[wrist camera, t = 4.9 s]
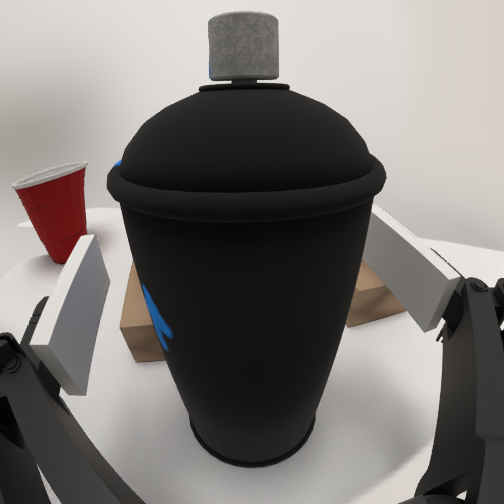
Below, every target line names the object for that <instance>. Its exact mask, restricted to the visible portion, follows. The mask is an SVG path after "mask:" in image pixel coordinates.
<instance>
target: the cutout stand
mask: <svg viewBox="0 0 504 504" xmlns="http://www.w3.org/2000/svg"><path fill="white" fill-rule="evenodd" d="M404 311H406V309H405V308H404V306H403V305H402V304H401V303H400V302H399V300H398V299H397V298H396V297H395V296H394V294H393V293H392V292H391V291H390V290H389V289H388V287H387V286H386V285H385V284H384V283H383V282H382V280H381V279H380V278H379V277H378V276H377V275H376V273H375V272H374V271H373V270H372V269H371V268H370V267H369V266H368V264H367V263H366V262H365V261H364V260H363V259H362V261H361V266H360V270H359V274H358V278H357V283H356V287H355V291H354V294H353V298H352V302H351V306H350V309H349V313H348V317H347V320H346V324H347V326H348V327H352V326H356V325H359V324H363V323H367V322H370V321H374V320H377V319H381V318H384V317H388V316H391V315H394V314H397V313H401V312H404ZM120 330H121V332H122V334H123V336H124V338H125V341H126V343H127V345H128V347H129V349H130V351H131V353H132V355H133V357H134V359H135V361H136V362H147V361H159V360H166V359H165V356H164V354H163V351H162V348H161V346H160V343H159V340H158V337H157V335H156V332H155V329H154V326H153V323H152V320H151V317H150V314H149V311H148V308H147V305H146V302H145V299H144V295H143V292H142V289H141V285H140V282H139V279H138V275H137V272H136V268H135V264H134V261H133V262H132V266H131V271H130V275H129V280H128V285H127V290H126V295H125V300H124V305H123V310H122V316H121V322H120Z"/></svg>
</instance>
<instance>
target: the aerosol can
mask: <svg viewBox="0 0 504 504" xmlns="http://www.w3.org/2000/svg"><path fill="white" fill-rule="evenodd" d="M208 34H209V35H208V37H209V51H210V53H209V78H210V79H211V80H212V81H232V83H231V84H215V85H205V86H201V87H199V91H200V92H198V93H196V94H194V95H191V96H189V97H187V98H185V99H182V100H180V101H178V102H176V103H174V104H171V105H170V106H168V107H165V108H164V109H163V110H161V111H160V112H158V113H157V114H156V115H154V116H153V117H151V118H150V119H149V120H147V121H146V122H145V123H144V124H143V125H142V126H141V127H140V129H139V130H138V131H137V133H136V134H135V136H134V137H133V138H132V140H131V141H130V143H129V144H128V145H127V147H126V148H125V151H124V154H123V157H122V160H120V161H119V162H117V163H116V164H115V165H114V167H113V168H112V169H111V170H110V172H109V173H108V176H107V189H108V191H109V193H110V194H111V195H112V197H113V198H114V199H115V200H116V201H118V202H119V203H120V206H121V211H122V215H123V220H124V224H125V229H126V233H127V237H128V241H129V245H130V249H131V253H132V257H133V261H134V264H135V268H136V272H137V275H138V279H139V282H140V285H141V289H142V292H143V295H144V299H145V302H146V305H147V308H148V311H149V314H150V317H151V320H152V323H153V326H154V329H155V332H156V335H157V337H158V340H159V343H160V346H161V348H162V351H163V354H164V356H165V359H166V362H167V364H168V367H169V369H170V372H171V374H172V377H173V379H174V382H175V384H176V386H177V389H178V391H179V393H180V396H181V398H182V400H183V402H184V405H185V407H186V409H187V411H188V414H189V419H190V425H191V429H192V431H193V433H194V436H195V438H196V439H197V440H198V442H199V443H200V445H201V446H202V447H203V448H204V449H205V450H206V451H208V452H209V453H210V454H211V455H213V456H214V457H216V458H218V459H220V460H221V461H223V462H226V463H229V464H232V465H235V466H242V467H264V466H268V465H272V464H275V463H278V462H280V461H282V460H285V459H287V458H289V457H290V456H291V455H293V454H294V453H296V452H297V451H298V450H299V449H300V448H301V447H302V446H303V445H304V444H305V442H306V441H307V440H308V438H309V436H310V434H311V432H312V431H313V427H314V423H315V415H316V410H317V407H318V404H319V402H320V399H321V396H322V394H323V391H324V388H325V386H326V383H327V380H328V377H329V374H330V371H331V368H332V365H333V362H334V359H335V356H336V353H337V350H338V347H339V344H340V340H341V337H342V334H343V331H344V327H345V324H346V320H347V317H348V313H349V309H350V306H351V302H352V298H353V294H354V291H355V287H356V283H357V278H358V274H359V270H360V266H361V261H362V257H363V252H364V247H365V243H366V238H367V233H368V227H369V222H370V216H371V211H372V205H373V199H374V196H375V195H377V194H378V193H379V192H380V191H381V190H382V188H383V186H384V183H385V180H386V172H385V169H384V166H383V165H382V163H381V162H380V161H378V159H377V158H376V157H374V156H373V155H371V154H370V153H369V151H368V148H367V145H366V143H365V141H364V140H363V138H362V137H361V136H360V135H359V133H358V132H357V131H356V129H355V128H354V127H353V126H352V125H351V123H350V122H349V121H348V120H347V119H346V118H345V117H343V116H342V115H340V114H339V113H337V112H336V111H334V110H333V109H331V108H330V107H328V106H326V105H325V104H323V103H321V102H318V101H316V100H314V99H311V98H309V97H306V96H304V95H301V94H299V93H296V92H293V91H291V90H289V89H290V86H289V85H288V84H279V83H257V80H274V79H277V78H278V77H279V42H278V19H276V18H275V17H274V16H272V15H270V14H267V13H262V12H253V11H239V12H238V11H237V12H229V13H223V14H220V15H217V16H214V17H213V18H212V19H210V20H209V22H208Z"/></svg>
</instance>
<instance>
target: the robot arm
mask: <svg viewBox="0 0 504 504" xmlns="http://www.w3.org/2000/svg"><path fill="white" fill-rule="evenodd" d="M362 259H363V260H364V261H365V262H366V263H367V264H368V266H369V267H370V268H371V269H372V270H373V271H374V272H375V273H376V275H377V276H378V277H379V278H380V279H381V280H382V282H383V283H384V284H385V285H386V286H387V287H388V289H389V290H390V291H391V292H392V293H393V294H394V296H395V297H396V298H397V299H398V300H399V302H400V303H401V304H402V305H403V306H404V308H405V309H406V310H407V311H408V313H409V314H410V315H411V316H412V318H413V319H414V320H415V321H416V323H417V324H418V325H419V326H420V328H421V329H422V330H423V331H424V333H425V332H427V331H430V330H432V329H435V328H436V327H437V325H438V324H439V322H440V320H441V318H443V319H444V320H445V321H446V322H445V324H444V326H443V328H442V329H441V331H440V333H439V335H438V337H437V339H436V341H439V339H440V337H442V336H443V340H442V341H441V342H442V343H443V360H442V380H441V392H440V402H439V411H438V419H437V426H436V432H435V438H434V444H433V449H432V455H431V459H430V463H429V466H428V469H427V471H426V472H425V474H424V475H423V477H422V478H421V480H420V482H419V483H418V486H417V488H416V491H415V495H414V498H411V499H409V500H406V501H404V502H402V503H399V504H504V329H503V331H502V330H501V328H500V326H501V324H502V323H503V321H504V278H500V279H498V281H497V283H496V285H495V287H494V288H489V287H488V286H487V285H486V284H485V283H484V282H483V281H481V280H479V279H477V278H473V277H470V278H467V279H465V278H464V277H463V276H462V275H461V274H460V273H459V272H458V271H457V270H456V269H455V268H454V267H453V266H451V265H450V264H449V263H447V261H446V260H445V259H444V258H443V257H442V258H441V256H440V255H439V254H438V253H437V252H436V251H434V250H433V249H431V248H429V247H428V246H427V245H425V244H424V243H423V242H422V241H421V240H420V239H418V238H417V237H416V236H415V235H413V234H412V233H411V232H410V231H409V230H407V229H406V228H405V227H403V226H402V225H401V224H400V223H399V222H397V221H396V220H395V219H393V218H392V217H391V216H390V215H388V214H387V213H386V212H384V211H383V210H382V209H380V208H379V207H378V206H376V205H375V204H373V205H372V211H371V216H370V222H369V227H368V233H367V238H366V243H365V247H364V252H363V257H362ZM109 285H110V279H109V276H108V273H107V270H106V267H105V264H104V261H103V258H102V255H101V252H100V248H99V245H98V242H97V238H96V235H95V234H90V235H84V236H81V237H80V239H79V240H78V242H77V244H76V246H75V248H74V249H73V251H72V253H71V255H70V257H69V258H68V260H67V262H66V264H65V266H64V268H63V270H62V272H61V274H60V276H59V278H58V280H57V282H56V284H55V286H54V288H53V290H52V292H51V294H50V296H46V297H44V298H43V299H42V300H41V301H40V302H39V303H38V304H37V306H36V308H35V310H34V312H33V314H32V316H33V317H31V319H30V321H29V325H28V326H27V328H26V331H25V333H24V335H23V338H22V340H21V343H20V345H19V344H18V342H17V341H16V339H15V338H14V336H13V335H12V334H11V333H8V332H6V333H1V334H0V504H51V502H50V500H49V497H48V495H47V492H46V489H45V487H44V484H43V481H42V478H41V475H40V472H39V469H38V466H39V468H40V470H41V471H42V473H43V475H44V477H45V478H46V480H47V482H48V483H49V485H50V486H51V488H52V490H53V491H54V493H55V494H56V496H57V497H58V499H59V500H60V502H61V503H62V504H146V503H145V502H144V501H142V500H141V499H140V498H139V497H138V496H137V495H136V493H135V492H134V491H133V490H132V489H131V488H130V487H129V486H128V485H127V484H126V483H125V482H124V481H123V480H122V479H121V477H120V476H119V475H118V474H117V473H116V472H115V471H114V469H113V468H112V467H111V466H110V465H109V464H108V462H107V461H106V460H105V459H104V457H103V456H102V455H101V454H100V452H99V451H98V450H97V448H96V447H95V446H94V445H93V443H92V442H91V441H90V439H89V438H88V436H87V435H86V434H85V432H84V431H83V429H82V428H81V427H80V425H79V424H78V422H77V421H76V419H75V418H74V416H73V415H72V413H71V411H70V410H69V408H68V407H67V405H66V404H65V402H64V400H63V399H62V398H61V397H60V396H59V393H60V388H61V387H62V388H63V389H64V391H65V392H66V393H67V394H68V395H78V396H86V391H87V385H88V379H89V373H90V367H91V361H92V356H93V351H94V346H95V341H96V337H97V332H98V328H99V323H100V319H101V315H102V311H103V307H104V303H105V300H106V296H107V292H108V289H109ZM37 464H38V466H37ZM465 491H467V493H466V498H465V500H463V499H460V498H457V496H458V495H459V494H460V493H463V492H465Z"/></svg>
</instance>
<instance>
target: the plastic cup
mask: <svg viewBox="0 0 504 504" xmlns="http://www.w3.org/2000/svg"><path fill="white" fill-rule="evenodd" d="M87 164H88V162H87V161H77V162H71V163H67V164H63V165H58V166H55V167H52V168H48V169H45V170H42V171H39V172H36V173H34V174H31V175H29V176H27V177H24V178H22V179H20V180H18V181H16V182H15V183H13V184H12V187H13V189H15V191H16V192H17V194H18V196H19V198H20V199H21V202H22V204H23V206H24V207H25V210H26V211H27V214H28V216H29V218H30V220H31V222H32V224H33V226H34V228H35V230H36V232H37V234H38V236H39V238H40V240H41V242H43V244H44V245H45V248H46V250H47V251H48V253H49V255H50V257H51V258H52V259H53V261H55V262H56V263H61V264H62V263H66V262H67V260H68V258H69V257H70V255H71V253H72V251H73V249H74V248H75V246H76V244H77V242H78V240H79V239H80V237H81V236H84V235H87V229H86V224H87V223H86V212H85V199H84V177H85V169H86V166H87Z"/></svg>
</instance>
